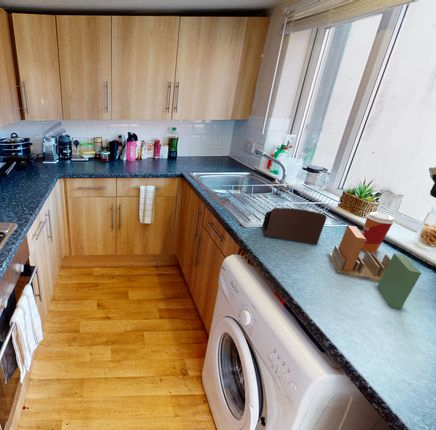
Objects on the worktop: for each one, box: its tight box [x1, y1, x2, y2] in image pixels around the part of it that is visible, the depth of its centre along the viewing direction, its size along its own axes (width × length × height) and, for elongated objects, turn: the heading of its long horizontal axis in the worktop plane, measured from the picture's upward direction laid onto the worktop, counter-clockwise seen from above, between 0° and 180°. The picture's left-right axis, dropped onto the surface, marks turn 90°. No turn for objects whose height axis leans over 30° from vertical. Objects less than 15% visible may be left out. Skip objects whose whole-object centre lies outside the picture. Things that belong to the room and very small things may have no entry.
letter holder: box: [261, 207, 327, 246], centre depth 122 cm, size 10×20×14 cm, turn 71°
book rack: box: [328, 245, 391, 283], centre depth 101 cm, size 17×13×5 cm
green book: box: [376, 252, 422, 310], centre depth 86 cm, size 3×10×13 cm, turn 157°
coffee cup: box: [361, 211, 395, 254], centre depth 112 cm, size 8×8×15 cm
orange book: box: [338, 224, 366, 271], centre depth 101 cm, size 3×10×13 cm, turn 157°
